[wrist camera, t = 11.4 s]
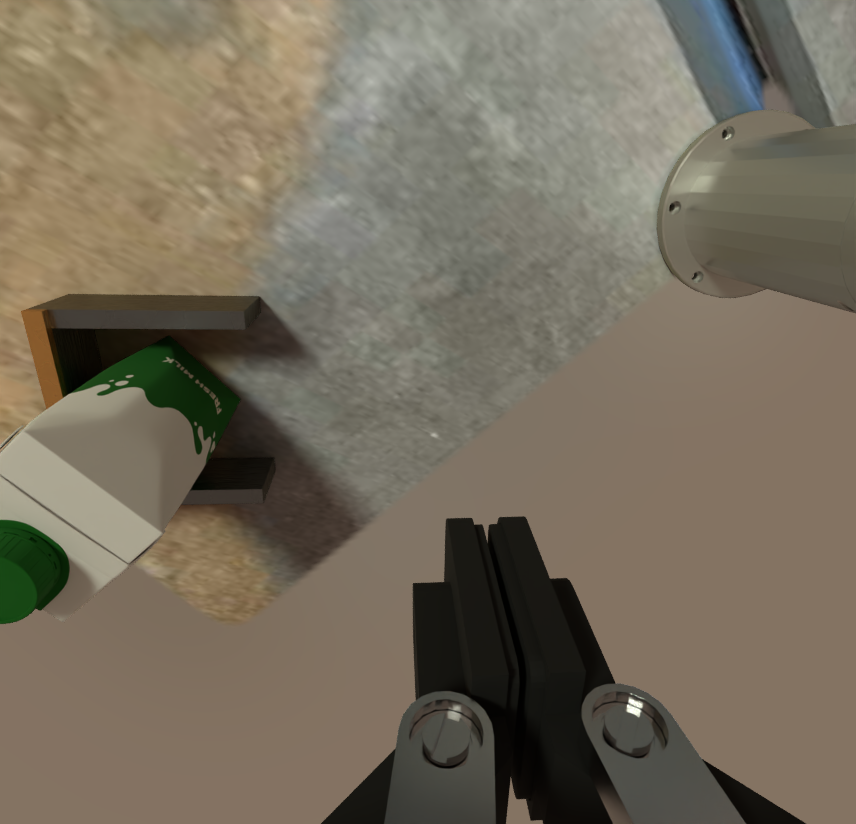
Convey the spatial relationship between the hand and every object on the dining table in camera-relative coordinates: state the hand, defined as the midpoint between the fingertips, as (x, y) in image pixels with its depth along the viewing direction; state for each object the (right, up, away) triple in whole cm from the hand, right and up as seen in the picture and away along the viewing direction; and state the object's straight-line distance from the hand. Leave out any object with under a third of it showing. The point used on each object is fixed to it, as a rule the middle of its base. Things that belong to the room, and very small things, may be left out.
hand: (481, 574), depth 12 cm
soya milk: (-21, +5, +31) cm, 37 cm away
